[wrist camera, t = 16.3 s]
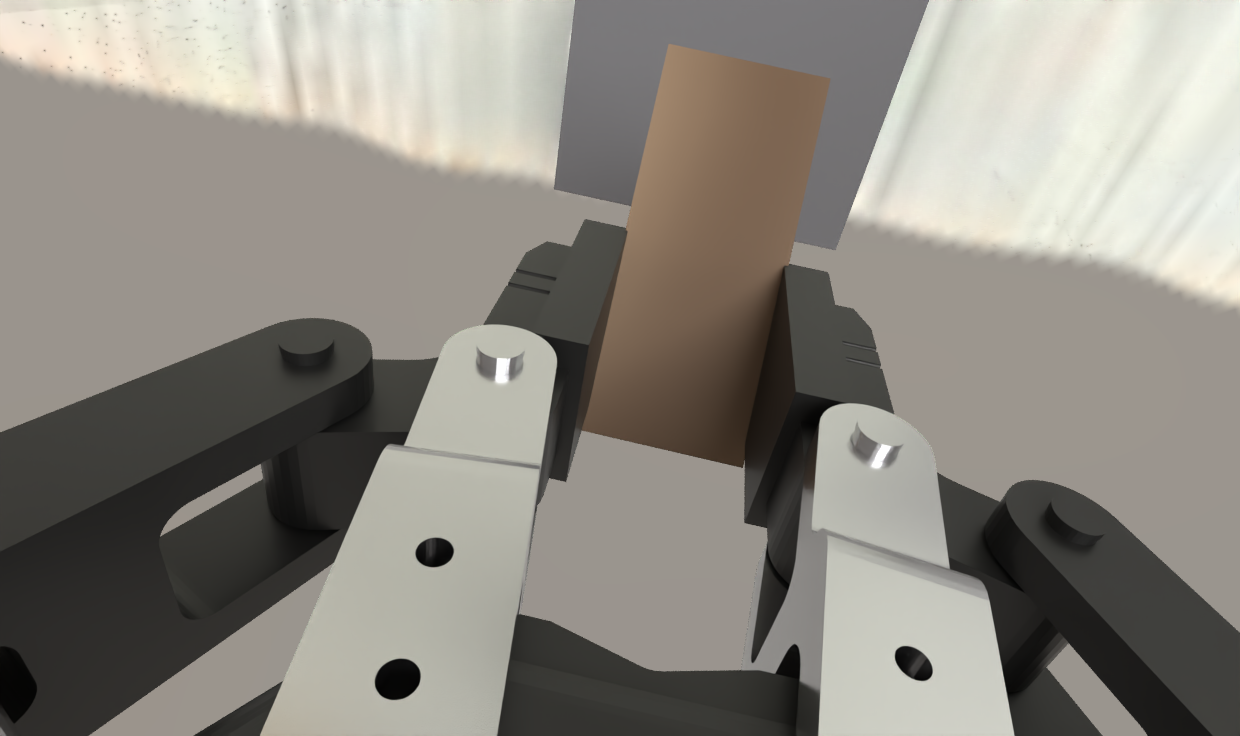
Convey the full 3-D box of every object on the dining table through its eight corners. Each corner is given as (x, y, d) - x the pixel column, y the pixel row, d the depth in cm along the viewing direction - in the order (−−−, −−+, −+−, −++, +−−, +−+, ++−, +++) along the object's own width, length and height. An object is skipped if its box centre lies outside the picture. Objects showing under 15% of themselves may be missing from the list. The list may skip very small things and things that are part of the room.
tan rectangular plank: (714, 263, 27) (831, 78, 11) (679, 419, 27) (742, 468, 11) (649, 248, 27) (668, 43, 11) (613, 404, 27) (579, 429, 11)
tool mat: (923, -10, 21) (931, -6, 20) (832, 238, 25) (835, 250, 25) (590, -79, 21) (583, -77, 20) (560, 179, 26) (554, 189, 25)
